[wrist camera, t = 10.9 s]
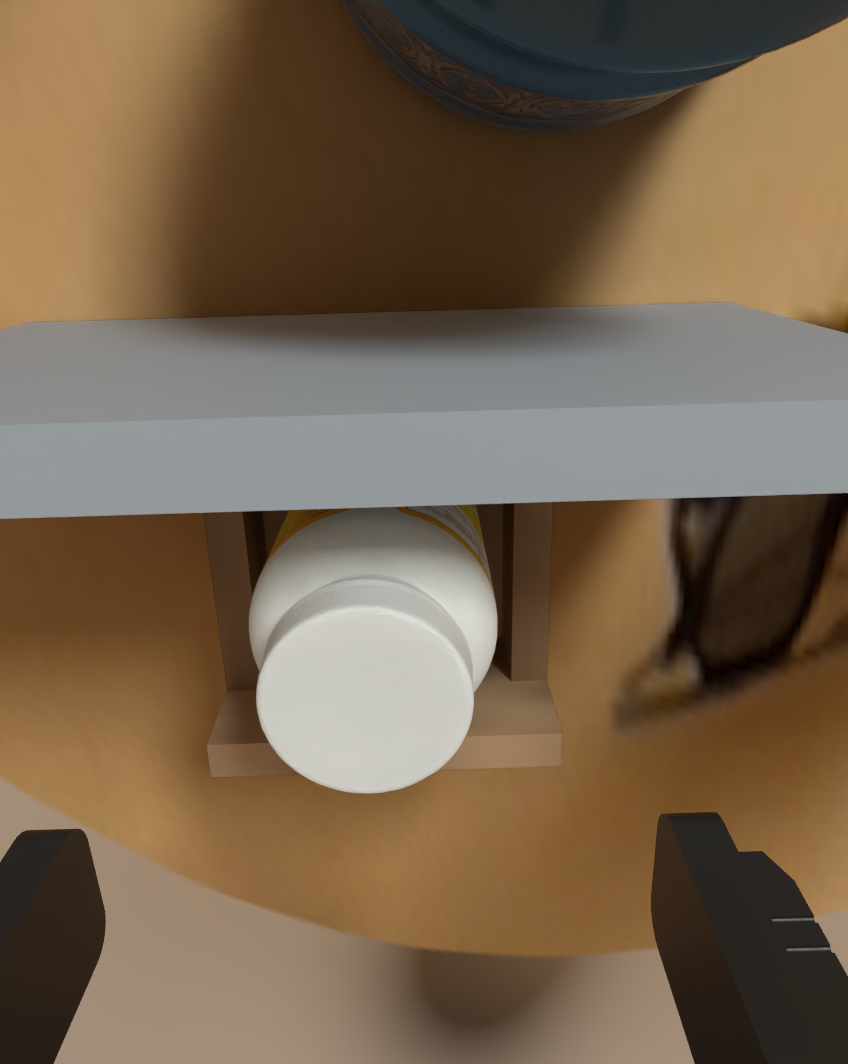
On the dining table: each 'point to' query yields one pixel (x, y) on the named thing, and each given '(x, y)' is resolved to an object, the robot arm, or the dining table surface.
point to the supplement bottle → (372, 641)
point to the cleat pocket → (499, 702)
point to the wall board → (418, 409)
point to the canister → (575, 52)
